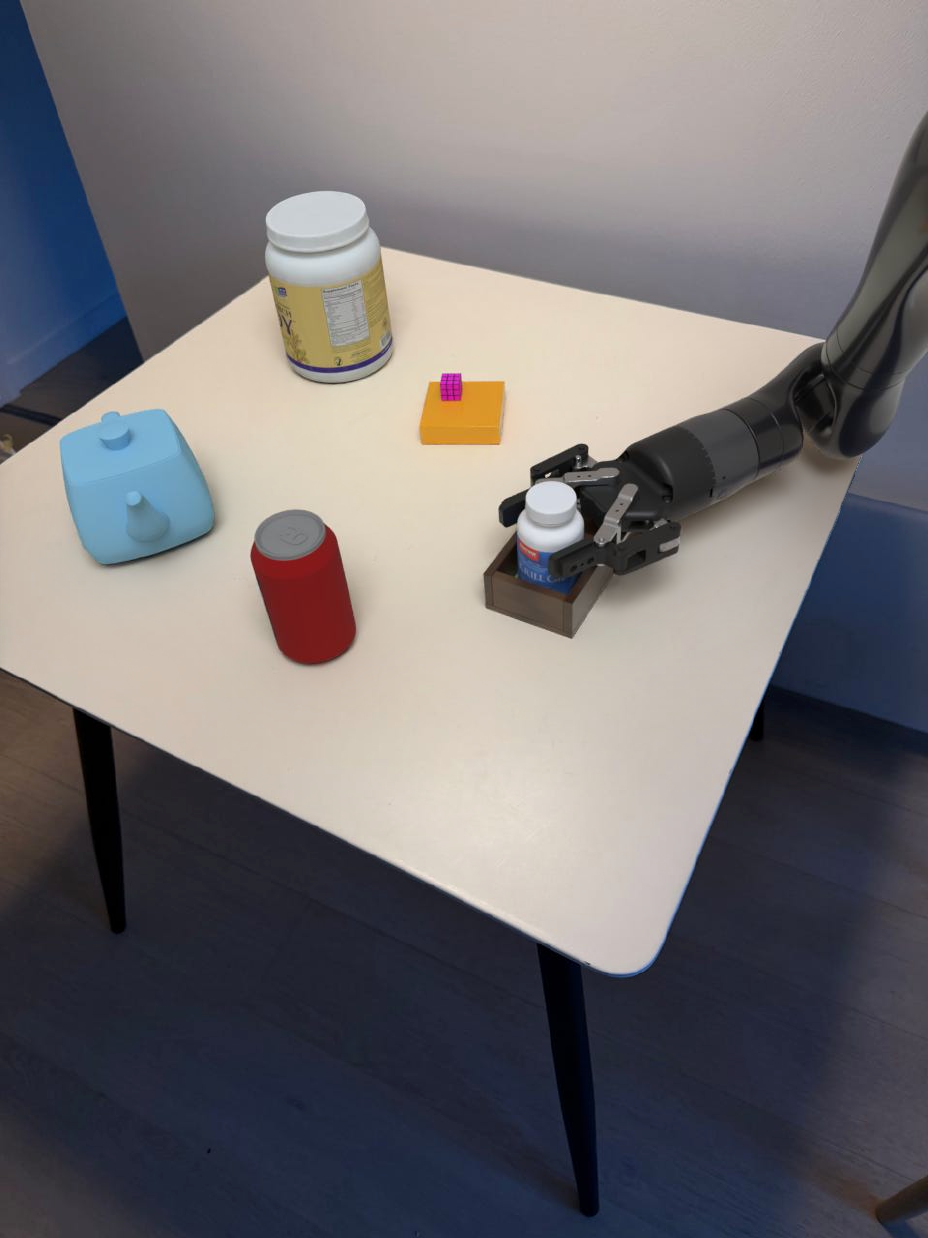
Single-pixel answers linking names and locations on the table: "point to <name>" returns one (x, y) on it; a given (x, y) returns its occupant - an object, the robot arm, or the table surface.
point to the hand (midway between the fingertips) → (525, 541)
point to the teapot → (134, 486)
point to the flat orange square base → (463, 411)
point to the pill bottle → (547, 533)
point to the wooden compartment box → (544, 589)
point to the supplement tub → (328, 286)
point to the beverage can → (303, 586)
